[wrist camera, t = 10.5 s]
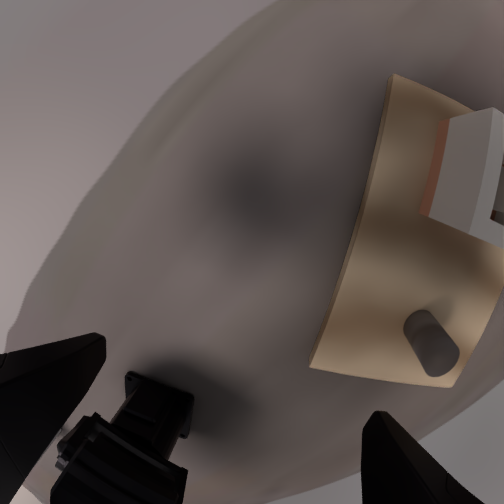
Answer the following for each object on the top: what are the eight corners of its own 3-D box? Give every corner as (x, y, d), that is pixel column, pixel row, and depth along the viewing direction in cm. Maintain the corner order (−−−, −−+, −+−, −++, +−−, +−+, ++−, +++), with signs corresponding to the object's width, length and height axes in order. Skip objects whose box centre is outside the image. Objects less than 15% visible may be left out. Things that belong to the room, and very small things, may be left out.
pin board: (446, 379, 20) (470, 421, 15) (309, 357, 21) (310, 410, 16) (527, 152, 14) (574, 153, 9) (388, 78, 15) (420, 49, 10)
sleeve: (486, 240, 16) (539, 266, 10) (418, 213, 16) (468, 234, 10) (505, 157, 14) (562, 160, 8) (439, 121, 14) (493, 106, 9)
